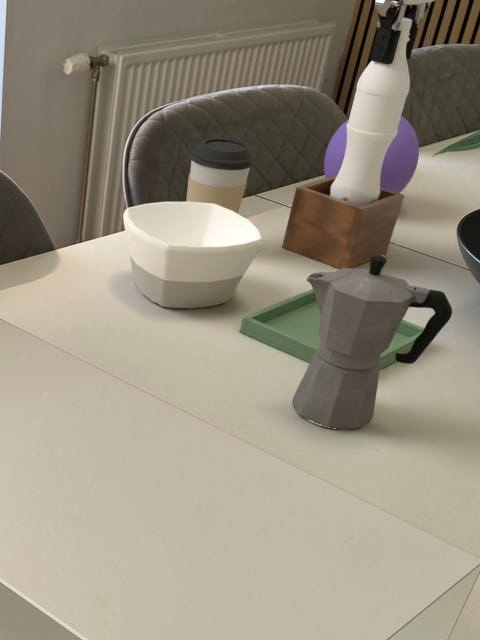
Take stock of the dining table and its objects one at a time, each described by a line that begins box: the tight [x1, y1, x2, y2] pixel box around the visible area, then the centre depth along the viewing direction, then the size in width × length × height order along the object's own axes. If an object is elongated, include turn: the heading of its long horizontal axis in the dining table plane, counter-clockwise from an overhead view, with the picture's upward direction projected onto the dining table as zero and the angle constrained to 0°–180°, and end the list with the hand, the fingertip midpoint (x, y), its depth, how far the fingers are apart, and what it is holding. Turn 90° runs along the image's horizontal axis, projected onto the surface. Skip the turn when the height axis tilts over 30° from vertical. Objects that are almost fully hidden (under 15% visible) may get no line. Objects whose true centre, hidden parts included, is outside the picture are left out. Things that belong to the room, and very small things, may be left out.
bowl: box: [122, 201, 263, 309], centre depth 136 cm, size 18×18×9 cm
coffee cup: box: [185, 137, 253, 214], centre depth 148 cm, size 9×9×15 cm
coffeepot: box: [291, 256, 453, 431], centre depth 109 cm, size 15×9×18 cm, turn 69°
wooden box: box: [281, 175, 405, 270], centre depth 152 cm, size 12×12×9 cm
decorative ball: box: [323, 115, 420, 194], centre depth 168 cm, size 15×15×15 cm
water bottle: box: [330, 18, 412, 206], centre depth 142 cm, size 7×7×25 cm
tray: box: [239, 288, 425, 370], centre depth 130 cm, size 18×18×2 cm
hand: (390, 58), depth 137 cm, fingers closed on water bottle, 3 cm apart
